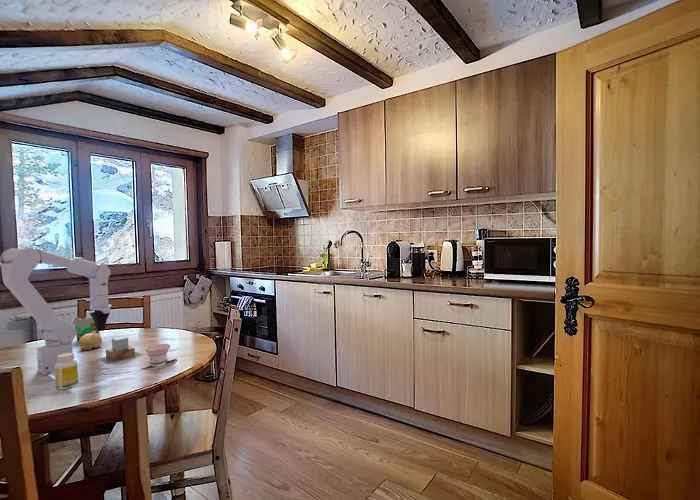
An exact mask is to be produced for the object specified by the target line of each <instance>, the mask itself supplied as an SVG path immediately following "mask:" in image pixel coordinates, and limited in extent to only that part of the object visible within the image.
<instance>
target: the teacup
mask: <svg viewBox="0 0 700 500" xmlns="http://www.w3.org/2000/svg"><path fill="white" fill-rule="evenodd" d="M169 349H171V344H170V343H158V344H157V343H156V344H152V345H148V346H146V347H145V349H144V350H145V351H146V354H147V355H148V357H149V362H150V364H151V363H152V364H155V365H150V366H146V367H143V368H141V370H156V369H157V370H159V369H164V368H166V367H167V368H168V367H169V366H172V365H174V364H176V363H177V358H173V359H170V360H167V359H168V352H169Z"/></svg>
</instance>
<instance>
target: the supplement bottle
mask: <svg viewBox="0 0 700 500" xmlns="http://www.w3.org/2000/svg"><path fill="white" fill-rule="evenodd" d="M57 360H58V361H59V362H58V363H57V364H56V365H55V370H54V378H55V389H56V390H59V391H60V390H61V391H62V390H69V389H71V388H73V386H72V385H76V384H77V383H78V382H79V369H78V361H77V360H76V359H75V353H74V352H73V353H65V354H61V355H58V356H57Z"/></svg>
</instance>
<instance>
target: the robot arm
mask: <svg viewBox="0 0 700 500" xmlns="http://www.w3.org/2000/svg"><path fill="white" fill-rule="evenodd" d="M39 264H48V265H53V266H58V267H61V268H65V269H66V270H67V271H68V272H69V273H72V274H75V275H78V276H83V277H86V278H87V279H88V281H89V299H90V301H89V310H90V311H92V312H90V313H89V315H90V317H91V319H92V318H93V320H94V322H95V326H96V329H97V330H98V332H99V331H104V330H106V324H107V321H108V318H109V316H110V314H111V308H112V307H113V305H112V304H109V287H108V286H109V284H108V283H109V277H110V276H111V274H112V271H111V269H110V268H109V266H108V265H106V264H104V263H103V264H102V263H97V261H95V260H92V261H89V260H88V259H85V257H82V256H78V257H76V256H75V257H73V258H67V257H64V256H62V255H58V254H55V253H53V252H49V251H47V250H43V249H35V248H32V247H25V248H24V247H23V248H14V247H12V248H7V249H5V250H4V251H3V252H2V253H1V255H0V269H1V277H2V283H3V285H4V286H5V287H6V288H7V289H8V290H9V292H10V293H11V294H12V295H13V296H14V297H15V299H16V300H17V301H18V302H19V303H20V304H21V306H23V307H24V309H25V310H26V311H27V312H28V313H29V315H30V316H31V317H32V318H33V319H34V320H35V322H36V323H37V324H38V325H37V330H38V331H39V332H40V334H39V335H40V338H41V339H42V340H43V341H45V345H43V346H38V348H36V349H37V350H36V361H37V362H36V363H37V369H36V371H37V372H39V373H40V374H41V375H43V376H47V375H50V374H52V372H51V371H55V365H56V364H57V363H58V362H59V361H58V360H57V356H58V355H61V354H65V353H74V351H73V341H74V339H75V338H76V337H77V336H76V333H77V331H76V328H75V325H74V324H69V323H68V322H67V321H66V320H65V319H64V318H62V317H60V316H59V315H57V314H56V312H55V311H54V310H53V309H52V307H50V305H49V304H48V303H47V301H46V300H45V299H44V298H43V297H42V295H41V294H40V293H39V292H38V290H37V289H36V288H35V287H34V285H33V284H32V283H31V282H30V280H29V277H30V275H31V273H32V272H33V271H34V270H35V268H37V266H38V265H39ZM93 311H94V312H93Z"/></svg>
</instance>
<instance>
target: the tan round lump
mask: <svg viewBox="0 0 700 500" xmlns="http://www.w3.org/2000/svg"><path fill="white" fill-rule="evenodd" d="M102 341H103V339H102V336H101V335H100V334H99V333H98V334H97V333H96V331H94V332H93V331H92V332H91V333H89V334H85V335H83V336H82V337H81V338H80V339H79V341H77V342H78V343H77V344H78V346H79V348H80V349H81V350H83V351H91V350H92V349H93V348H94V349H97V348H99V347H100V346H101V344H102Z"/></svg>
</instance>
